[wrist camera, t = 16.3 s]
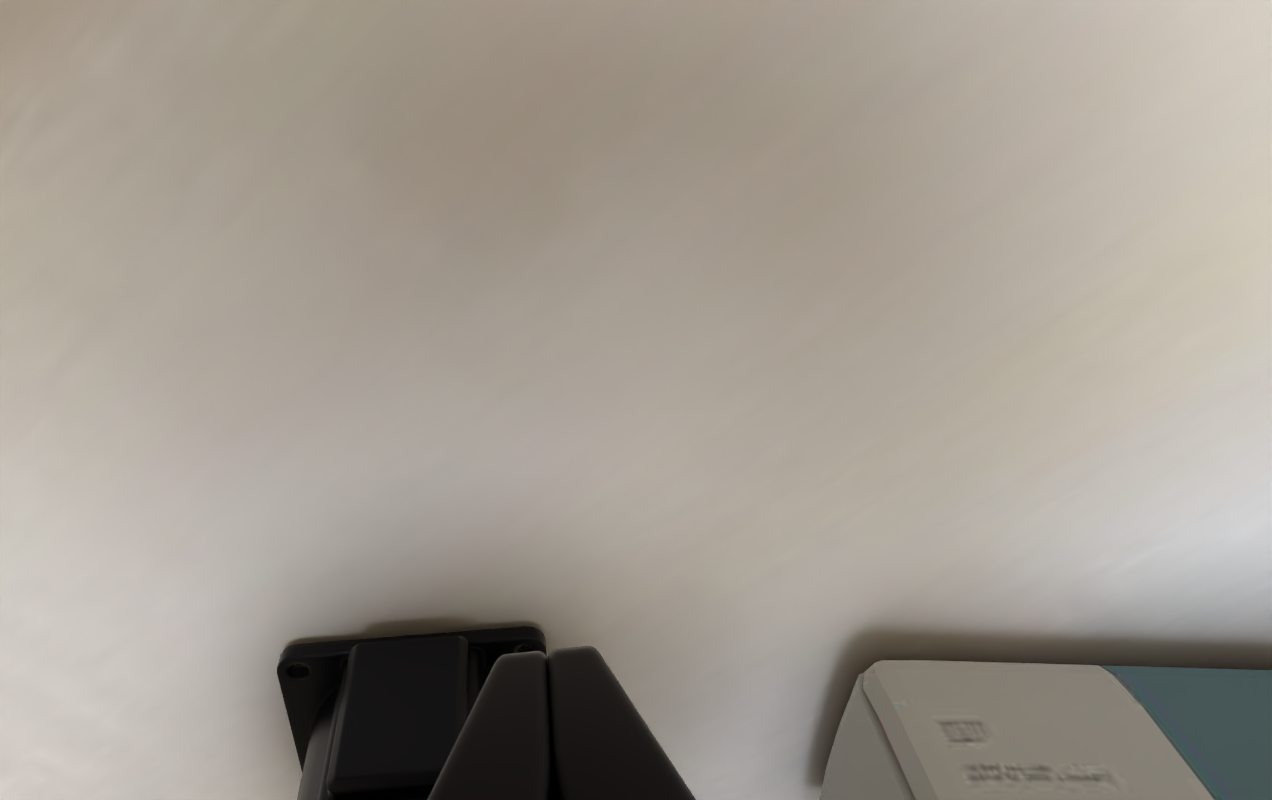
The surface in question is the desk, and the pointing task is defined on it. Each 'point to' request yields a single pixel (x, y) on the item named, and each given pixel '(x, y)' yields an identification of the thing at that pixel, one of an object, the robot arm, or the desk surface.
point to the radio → (1052, 733)
